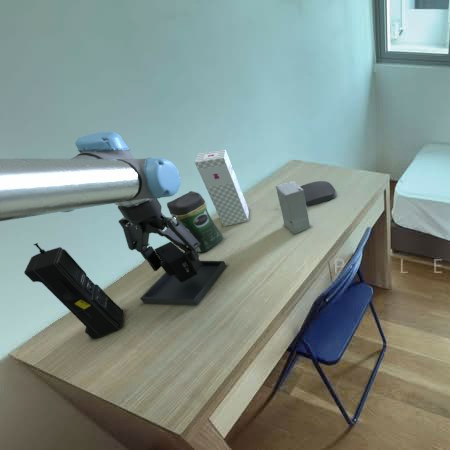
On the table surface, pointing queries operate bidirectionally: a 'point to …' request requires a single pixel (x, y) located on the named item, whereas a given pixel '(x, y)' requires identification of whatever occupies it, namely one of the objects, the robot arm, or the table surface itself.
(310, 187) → the media streaming box
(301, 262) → the table surface
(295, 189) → the cosmetic box
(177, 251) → the digital camera
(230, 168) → the box
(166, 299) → the shallow black tray
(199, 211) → the coffee jar
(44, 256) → the portable radio
